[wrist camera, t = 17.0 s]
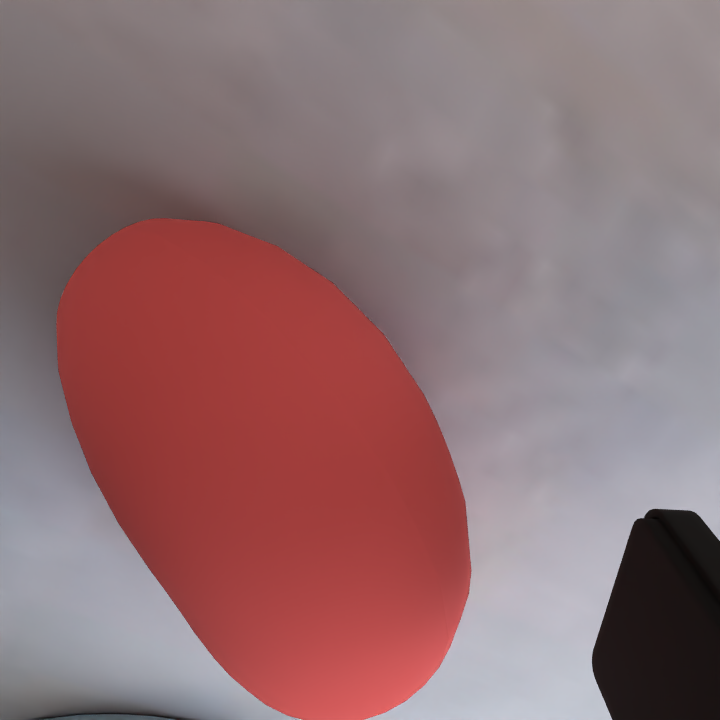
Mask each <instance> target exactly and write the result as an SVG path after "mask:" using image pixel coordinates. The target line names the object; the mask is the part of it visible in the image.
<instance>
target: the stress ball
mask: <svg viewBox="0 0 720 720" xmlns="http://www.w3.org/2000/svg"><path fill="white" fill-rule="evenodd" d="M56 327H57V355H58V370H59V375H60V379H61V383H62V387H63V391H64V395H65V399H66V403H67V407H68V411H69V415H70V418H71V422H72V425H73V428H74V430H75V433H76V435H77V438H78V440H79V443H80V445H81V448H82V450H83V453H84V455H85V458H86V461H87V463H88V466H89V468H90V471H91V473H92V475H93V477H94V479H95V481H96V483H97V484H98V486H99V488H100V490H101V492H102V494H103V496H104V497H105V499H106V501H107V503H108V505H109V507H110V509H111V510H112V512H113V514H114V516H115V518H116V520H117V522H118V523H119V525H120V526H121V528H122V529H123V531H124V532H125V534H126V535H127V537H128V538H129V540H130V541H131V543H132V544H133V546H134V547H135V549H136V550H137V552H138V553H139V555H140V556H141V557H142V559H143V560H144V562H145V563H146V565H147V566H148V568H149V569H150V571H151V572H152V573H153V575H154V576H155V577H156V579H157V580H158V581H159V583H160V584H161V585H162V587H163V588H164V590H165V591H166V592H167V594H168V595H169V597H170V598H171V599H172V601H173V602H174V604H175V605H176V606H177V608H178V609H179V611H180V612H181V614H182V615H183V616H184V618H185V619H186V621H187V622H188V624H189V625H190V627H191V628H192V630H193V631H194V633H195V634H196V635H197V636H198V638H199V639H200V640H201V642H202V643H203V644H204V646H205V647H206V648H207V650H208V651H209V652H210V653H211V655H212V656H213V657H214V659H215V660H216V661H217V662H218V663H219V664H220V665H221V666H222V667H223V668H224V670H225V671H226V672H227V673H228V674H229V675H230V676H231V677H232V678H233V679H234V680H236V681H237V682H238V683H239V684H240V685H241V686H243V687H244V688H245V689H246V690H247V691H249V692H250V693H251V694H252V695H254V696H255V697H256V698H258V699H259V700H260V701H262V702H263V703H264V704H265V705H267V706H269V707H271V708H273V709H275V710H277V711H279V712H281V713H283V714H286V715H288V716H291V717H295V718H299V719H302V720H364V719H367V718H370V717H373V716H376V715H379V714H382V713H385V712H387V711H389V710H390V709H392V708H394V707H396V706H397V705H399V704H401V703H403V702H405V701H406V700H407V699H409V698H410V697H411V696H412V695H413V694H415V693H416V692H417V691H418V690H419V689H421V688H422V687H423V686H424V685H425V684H426V683H427V681H428V680H429V679H430V678H431V676H432V675H433V674H434V673H435V672H436V670H437V669H438V668H439V666H440V665H441V663H442V661H443V659H444V657H445V655H446V653H447V652H448V650H449V648H450V646H451V643H452V640H453V638H454V635H455V632H456V630H457V627H458V624H459V622H460V619H461V616H462V613H463V610H464V607H465V604H466V601H467V597H468V594H469V587H470V578H471V562H470V550H469V539H468V528H467V516H466V505H465V499H464V496H463V492H462V489H461V485H460V482H459V479H458V476H457V473H456V470H455V467H454V464H453V461H452V458H451V455H450V452H449V450H448V447H447V445H446V442H445V439H444V437H443V435H442V432H441V430H440V427H439V425H438V423H437V421H436V418H435V416H434V414H433V412H432V410H431V408H430V406H429V404H428V402H427V400H426V398H425V396H424V394H423V393H422V391H421V390H420V388H419V387H418V385H417V384H416V382H415V381H414V379H413V378H412V376H411V375H410V373H409V372H408V370H407V369H406V367H405V366H404V364H403V363H402V361H401V360H400V358H399V357H398V355H397V354H396V352H395V351H394V349H393V348H392V346H391V345H390V343H389V342H388V340H387V339H386V337H385V336H384V334H383V333H382V332H381V331H380V330H379V329H378V328H377V327H376V326H375V325H374V324H373V323H372V322H371V321H370V320H369V319H368V318H367V317H366V316H365V315H364V314H363V313H362V312H361V311H360V310H359V309H358V308H357V307H356V306H355V305H354V304H353V303H352V302H351V301H350V300H349V299H348V298H347V297H346V296H345V295H344V294H343V293H342V292H341V291H340V290H339V289H338V288H337V287H336V286H335V285H334V284H333V283H332V282H331V281H329V280H328V279H326V278H325V277H323V276H322V275H320V274H319V273H317V272H316V271H314V270H313V269H311V268H310V267H308V266H307V265H305V264H304V263H302V262H301V261H299V260H297V259H296V258H294V257H293V256H291V255H290V254H288V253H287V252H285V251H284V250H282V249H281V248H279V247H278V246H275V245H273V244H270V243H268V242H265V241H263V240H260V239H257V238H255V237H252V236H250V235H247V234H244V233H242V232H239V231H237V230H234V229H231V228H229V227H226V226H224V225H221V224H219V223H213V222H206V221H193V220H181V219H168V218H157V219H149V220H144V221H140V222H137V223H134V224H132V225H129V226H127V227H125V228H123V229H121V230H119V231H118V232H116V233H114V234H112V235H111V236H110V237H108V238H107V239H106V240H104V241H103V242H102V243H100V244H99V245H98V246H97V247H96V248H95V249H94V250H93V251H92V252H91V253H89V254H88V255H87V256H86V257H85V259H84V260H83V261H82V262H81V264H80V265H79V266H78V267H77V269H76V270H75V271H74V273H73V275H72V276H71V278H70V280H69V281H68V283H67V285H66V287H65V289H64V292H63V294H62V296H61V299H60V303H59V307H58V311H57V323H56Z"/></svg>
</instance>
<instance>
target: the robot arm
mask: <svg viewBox="0 0 720 720" xmlns="http://www.w3.org/2000/svg"><path fill="white" fill-rule="evenodd" d="M592 667H593V672H594V676H595V679H596V682H597V684H598V687H599V689H600V691H601V694H602V696H603V698H604V701H605V703H606V706H607V708H608V710H609V713H610V715H611V717H612V720H720V541H719V540H718V539H717V537H716V536H715V535H714V534H713V532H712V531H711V530H710V529H709V528H708V526H707V525H706V524H705V523H704V521H703V520H702V519H701V518H700V517H699V516H698V515H697V514H696V513H695V512H692V511H685V510H666V509H652V510H649V511H648V512H647V514H646V515H645V517H644V518H640V519H637V520H636V521H635V522H634V525H633V527H632V530H631V533H630V536H629V539H628V542H627V546H626V549H625V552H624V555H623V558H622V561H621V564H620V568H619V571H618V574H617V577H616V580H615V583H614V586H613V590H612V593H611V596H610V599H609V602H608V605H607V609H606V612H605V615H604V618H603V621H602V624H601V627H600V631H599V634H598V637H597V640H596V643H595V646H594V649H593V654H592Z"/></svg>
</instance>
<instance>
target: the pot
mask: <svg viewBox="0 0 720 720" xmlns="http://www.w3.org/2000/svg"><path fill="white" fill-rule="evenodd" d="M41 720H176V719H169V718H163V717H156V716H143V715H126V714H94V715H74V716H65V717H57V718H48V719H41Z"/></svg>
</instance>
